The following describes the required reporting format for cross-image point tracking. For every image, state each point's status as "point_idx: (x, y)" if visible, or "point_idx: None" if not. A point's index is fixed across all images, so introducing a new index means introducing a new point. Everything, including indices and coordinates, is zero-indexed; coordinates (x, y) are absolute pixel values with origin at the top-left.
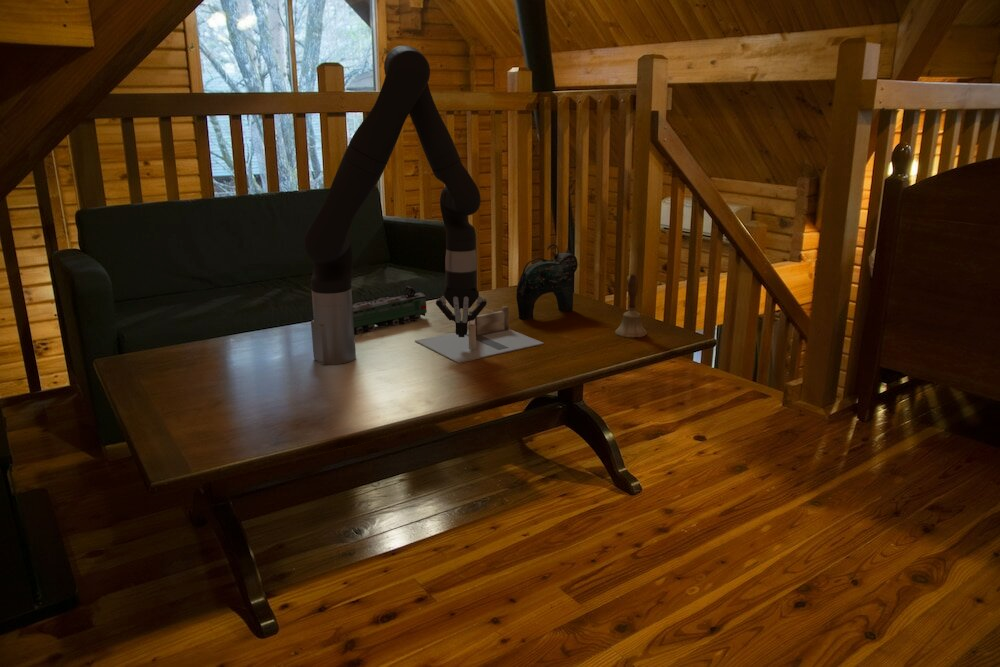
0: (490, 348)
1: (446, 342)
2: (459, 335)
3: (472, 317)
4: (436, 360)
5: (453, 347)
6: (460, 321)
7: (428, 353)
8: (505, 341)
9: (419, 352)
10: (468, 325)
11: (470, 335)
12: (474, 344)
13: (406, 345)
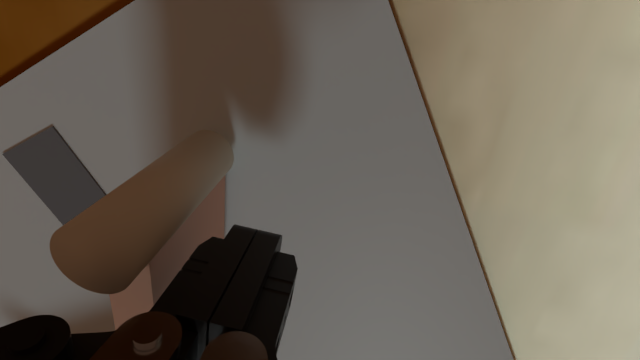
0: (106, 163)
1: (357, 316)
2: (270, 238)
3: (9, 351)
4: (505, 3)
5: (330, 232)
6: (210, 353)
7: (512, 180)
8: (45, 255)
9: (565, 213)
10: (131, 265)
11: (167, 180)
12: (177, 145)
13: (591, 341)
